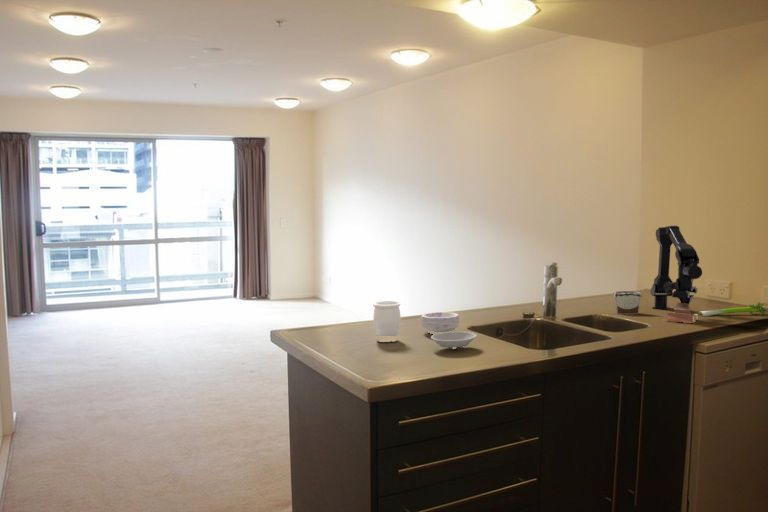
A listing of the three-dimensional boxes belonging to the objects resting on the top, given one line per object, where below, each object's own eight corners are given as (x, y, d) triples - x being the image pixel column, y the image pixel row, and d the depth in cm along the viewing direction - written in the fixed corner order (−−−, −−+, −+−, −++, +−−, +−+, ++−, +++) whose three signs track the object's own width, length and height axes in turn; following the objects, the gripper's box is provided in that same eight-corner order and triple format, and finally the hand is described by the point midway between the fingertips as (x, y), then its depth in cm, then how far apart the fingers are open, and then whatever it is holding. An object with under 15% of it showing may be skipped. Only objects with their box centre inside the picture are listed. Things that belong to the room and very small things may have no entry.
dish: (462, 342, 234) (461, 329, 233) (485, 350, 221) (485, 336, 221) (423, 348, 225) (422, 335, 225) (445, 356, 213) (444, 342, 212)
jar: (381, 345, 232) (380, 306, 231) (369, 340, 241) (368, 302, 240) (405, 341, 237) (405, 303, 236) (393, 336, 246) (392, 300, 245)
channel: (673, 317, 274) (673, 308, 274) (697, 319, 268) (698, 310, 267) (667, 321, 265) (667, 312, 265) (691, 323, 259) (692, 314, 259)
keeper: (678, 313, 271) (676, 302, 268) (690, 314, 268) (689, 303, 265) (675, 320, 268) (673, 309, 265) (687, 321, 264) (686, 310, 262)
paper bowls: (438, 328, 261) (437, 310, 261) (466, 333, 250) (466, 314, 250) (414, 334, 251) (413, 315, 250) (442, 339, 240) (442, 319, 239)
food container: (637, 311, 290) (637, 290, 289) (641, 314, 284) (641, 292, 283) (610, 311, 291) (610, 290, 290) (614, 314, 285) (614, 292, 284)
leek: (696, 318, 281) (761, 312, 280) (704, 323, 274) (771, 316, 274) (696, 306, 279) (762, 299, 279) (704, 310, 272) (771, 303, 272)
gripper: (671, 272, 280) (670, 306, 281) (659, 277, 265) (659, 312, 267) (698, 274, 273) (697, 308, 274) (687, 278, 258) (687, 315, 260)
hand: (684, 311), depth 269 cm, fingers closed
